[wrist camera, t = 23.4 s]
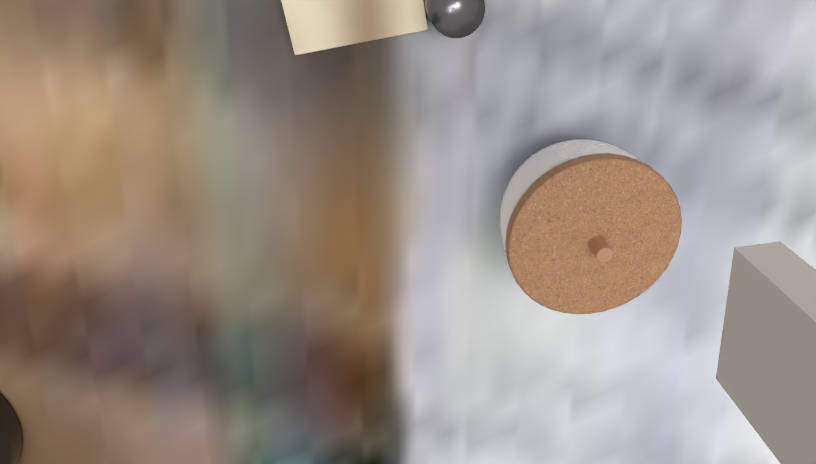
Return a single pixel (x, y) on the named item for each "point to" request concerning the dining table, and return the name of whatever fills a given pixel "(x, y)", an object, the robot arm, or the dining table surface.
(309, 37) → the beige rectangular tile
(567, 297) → the lidded jar
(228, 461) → the dining table surface
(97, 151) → the dining table surface
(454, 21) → the bench dogs
